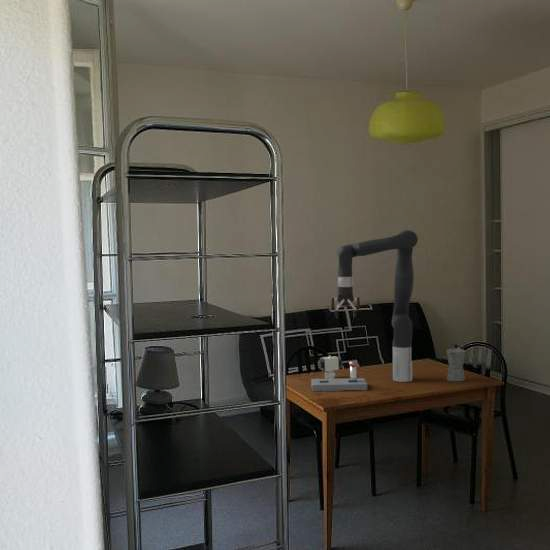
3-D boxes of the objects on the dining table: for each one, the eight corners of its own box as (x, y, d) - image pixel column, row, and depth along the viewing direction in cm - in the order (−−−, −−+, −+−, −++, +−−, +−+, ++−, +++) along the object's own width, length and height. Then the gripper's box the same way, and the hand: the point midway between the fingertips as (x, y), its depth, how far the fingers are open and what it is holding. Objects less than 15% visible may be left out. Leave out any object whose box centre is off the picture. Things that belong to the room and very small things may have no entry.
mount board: (364, 384, 308) (364, 378, 307) (367, 390, 296) (367, 384, 295) (311, 384, 308) (311, 378, 308) (312, 391, 296) (312, 385, 296)
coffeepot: (461, 384, 304) (461, 347, 302) (442, 381, 309) (442, 346, 307) (470, 377, 317) (470, 342, 315) (451, 375, 322) (451, 340, 320)
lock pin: (357, 386, 304) (356, 360, 303) (357, 388, 300) (357, 362, 299) (348, 386, 304) (348, 361, 303) (349, 388, 300) (349, 362, 299)
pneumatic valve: (342, 378, 320) (342, 355, 319) (321, 380, 316) (320, 357, 316) (338, 376, 325) (337, 353, 324) (317, 378, 322) (316, 355, 321)
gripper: (358, 284, 315) (359, 316, 316) (330, 285, 315) (330, 317, 316) (360, 286, 307) (360, 318, 308) (331, 286, 308) (332, 319, 309)
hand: (345, 317), depth 312 cm, fingers open, 8 cm apart
